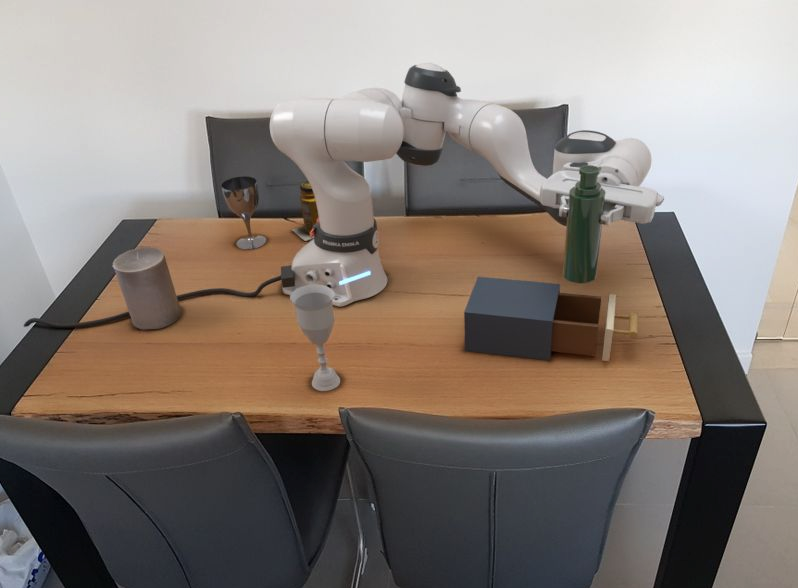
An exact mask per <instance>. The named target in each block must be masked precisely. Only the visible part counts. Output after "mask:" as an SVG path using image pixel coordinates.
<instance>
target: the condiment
mask: <svg viewBox="0 0 798 588" xmlns="http://www.w3.org/2000/svg"><path fill="white" fill-rule="evenodd" d="M299 189H300V196H299V202H300V208H301V213H302V220H303V226H300V227H295V228H292V229H291V230H292V232H294V233H295V235H297V236H298V237H299V238H301V239H302V240H303V241H304V242H307V241H309V240H310V241H311V240H313V239H314V236H313V237H312V238H310V235H311V234H310V232H311V231H312V229H313V228H312V227H313V226H314V225H315V224H316V223H317V219H318V218H319V216H318V210H317V205H316V201H315V196H314V193H313V190H312V188H311V185H310V183H309V181H308V180H306V181H304V182H303V181H302V183H301V184H300V186H299Z"/></svg>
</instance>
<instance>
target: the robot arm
mask: <svg viewBox="0 0 798 588" xmlns="http://www.w3.org/2000/svg"><path fill="white" fill-rule="evenodd" d="M403 83H404V88H403V92H402V96H401V99H400V98H399V96H398V95H397V94H396V93H394V92H393V91H391V90H389V89H387V88H382V87H367V88H363V89H360V90H356V91H353V92H349V93H347V94H345V95H344V96H343V97H342V98H328V97H305V96H303V97H297V98H291V99H287V100H282V101H280V102H278V103H277V104H276V106H275V107H274V109H273V110H272V113H271V115H270V119H269V133H270V134H269V135H270V137H271V141H272V142H273V144H274V145H275V147H276V148H277V149H278V151H279V152H281V153H283V154H284V155H285V156H286V157H288V158H289V159H290V160H291V161H292V162H293V163H294V164H296V166H297V167H298V168H299V170H300V171H301V172H302V174H303V175H304V177H305V178H306V181H309V183H310V185H311V188H312V190H313V193H314V196H315V201H316V205H317V210H318V216H319V218H318V219H317V223H316V224H315V225H314V226H313V227H312V228H313V229H312V231H311V232H310V234H311V235H310V238H312V237H313V236H314V238H312V239H310V241H308V242H307V243H306V244H305V245H304V246H302V247H301V248H300V249H299V250H298V251H297V252H296V254H295V255H294V257H293V259H292V263H291V265H283V266H280V275H278V276H275V277H272V278H270V279H268V280H265V281H263V282H262V283H261V284H260V285H259V286H258V287H257V288H256V290H255V291H252V292H242V291H238V290H234V289H230V288H224V287H217V288H216V287H215V288H206V289H199V290H196V291H191V292H186V293H182V294H179V295H176V296H177V299H178V301H180V300H183V299H187V298H191V297H196V296H197V297H198V296H201V295H207V294H216V293H222V294H230V295H234V296H237V297H244V298H253V297H257V296H258V295H259V294H260V293H261V292H262V290H263V289H264V288H266V287H267V286H269V285H272V284H274V283H277V282H280V281H281V286H282V293H283V294H284V295H287V296H290V295H291V294H292V292H293V291H295V290H296V289H298V288H300V287H303V286H307V285H323V286H327V287H329V288H331V289H332V290H333V292H334V297H333V300H332V305H333V307H345V306H347V305H350V304H352V303H354V302H357V301H361V300H365V299H369V298H371V297H373V296H376V295H378V294H379V293H381V292H382V291H383V290H384V289H385V288H386V287H387V284H388V281H389V280H388V276H387V274H386V271H385V269H384V267H383V264H382V260H381V256H380V251H379V243H380V241H379V240H380V239H379V238H380V237H379V230H378V224H377V220H376V218H375V216H374V205H373V195H372V188H371V185H370V183H369V182H368V180H366V178H365V177H364V176H363V175H362V174H359V172H356V171H355V170H353V169H352V168H351V167H349V165H348V164H347V163H346V162H360V163H369V162H378V161H385V160H390V159H392V158H394V156H395V155H397V156H398V158H399V159H400V160H401V161H403V162H404V163H407V164H409V165H411V166H415V167H426V166H427V167H428V166H433V165H434V164H436V163H438V161H439V160H440V158H441V156H442V152H443V150H444V149H443V145H444V141H445V138H446V133H448V135H449V136H450V138H451V139H453V140H454V141H455V142H456V143H458V144H459V145H461V146H462V147H464V148H466V149H467V150H468V151H471V152H473V153H476V154H478V155H480V156H481V157H483V158H484V159H485V160H486V161H487V162H488V163H489V164H490V165H491V166H492V167H493V168H494V170H495V171H496V172H497V174H498V176H499V178H500V179H501V181H503V182H504V183H505V184H506V185H507V186H509V188H512V189H513V190H515V191H516V192H518V193H519V194H520V195H522V196H523V197H525V198H527V199H528V200H529V201H531V202H532V203H534V204H535V205H537V206H538V207H540V208H541V209H543V210H544V211H545V213H547V214H548V215H549V216H550V217H551V218H552V219H553V220H554V221H555V222H556V223H558V224H560V225H561V226H564V227H566V228H567V215H568V203H569V191H570V189H571V188H573V187H575V184H576V183H577V182H579V181H580V174H579V168H580V167H582V166H585V165H593V166H597V167H599V168H600V174H599V175H598V178H597V182H598V183H600V184H601V188H602V189H604V190H605V192H606V194H605V203H604V212H603V214H601V217H600V219H601V221H600V224H602V226H603V225H604V226H610V224H611V223H614V222H619V221H624V222H625V221H626V222H630V223H636V224H640V225H647V224H649V223H651V222H652V221H653V218H654V216H655V213H656V209H657V207H660V206H661V205H662V204H663V203H664V201H665V197H664V195H661V194H659V192H657V191H656V190H655V189H652V188H651V187H650V188H649V187H643V186H641V185H642V183H644V181H645V180H646V177H647V176H648V174H649V172H650V169H651V166H652V154H651V150H650V149H649V147H648V145H647V144H646V143H645V142H644V141H643V140H641V139H638V138H634V137H627V138H622V139H618V140H614V139H613V138H612V137H611V136H609V135H607V134H605V133H603V132H600V131H596V130H588V129H587V130H583V129H582V130H576V131H573V132H571V133H568V134H567V135H566V136H564V137H562V138H561V139H559V140H558V141H557V143H556V144H555V145H554V151H553V161H552V162H553V163H552V174H551V175H550V176H549V177H547V178H546V177H545V176H544V175H542V174H541V173H540V172H538V171H537V169H536V168H535V165H534V164H533V161H532V157H531V153H530V148H529V143H528V136H527V131H526V127H525V125H524V123H523V119H522V118H520V116H519V115H518V114H517V113H516V112H514V111H513V110H512V109H510V108H508V107H505V106H503V105H500V104H497V103H493V102H489V101H485V100H480V99H467V98H460V97H459V96H458V93H461V92H462V88H461V87H460V86H458V85H457V83H456V81H455V78H454V77H453V75H452V74H451V73H450V72H449V71H448V70H447V69H445V68H444V67H443V66H440V65H438V64H436V63H432V62H423V63H419V64H414V65H412V66H410V67H409V68H408V70H407V73H406V75H405V79H404V81H403ZM127 317H131V316H130V314H129V311H125V312H122V313H119V314H115V315H112V316H108V317H105V318H100V319H95V320H94V319H93V320H89V321H82V322H70V323H69V322H67V323H63V322H62V323H60V322H54V321H50V320H46V319H43V318H39V317H32V318H29V319H28V320H26V321H25V322H24V323H23V327H24V328H28V327H29V326H30V325H32V324H35V323H38V324H41V325H42V324H43V325H45V326H49V327H52V328H57V329H72V328H73V329H74V328H83V327H84V328H85V327H92V326H97V325H100V324H101V325H103V324H106V323H107V324H108V323H110V322H111V323H112V322H114V321H118V320H121V319H125V318H127Z"/></svg>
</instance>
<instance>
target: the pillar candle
mask: <svg viewBox="0 0 798 588" xmlns="http://www.w3.org/2000/svg"><path fill="white" fill-rule="evenodd" d="M112 268H113V269H114V272H115V275H116V278H117V282H118V283H119V287H120V290H121V293H122V297H123V298H124V301H125V304H126V308H127V310H128V311H129V314H130V316H129V317H130V319H131V322H132V324H133V326H134V327H135V328H137V329H139V330H142V331H143V330H160V329H163V328H164V329H165V328H166V327H168V326H170V325H172V324H173V323H175V322H176V321H177V320H178V319H179V318H180V316H181V314H182V309H181V307H180V302H179V300H178V299H177V296H178V295H177V293H176V290H175V289H176V288H175V286H174V283H173V280H172V276H171V273H170V270H169V265H168V263H167V260H166V257H165V253H164V251H162V250H161V249H159V248H156V247H151V246H150V247H147V246H145V247H137V248H133V249H129V250H127V251H125V252H122V253H121V254H118V256H116V258H115V259H114V260H113V262H112ZM128 311H127V312H128Z"/></svg>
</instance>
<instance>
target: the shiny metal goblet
mask: <svg viewBox="0 0 798 588" xmlns="http://www.w3.org/2000/svg"><path fill="white" fill-rule="evenodd" d="M221 190H222V195H223V198H224V201H225V203H226V204H227V207H228V208H229V210H230V211H231V212H232V213H234V214H235V215H237V216H238V217H240V218H241V220H242V221H243V223H244V225H245V228H246V231H247V235H246V236H243V237H241V238H240V239H238V240H237V241H236V247H237V248H239V249H242V250H253V249H254V250H255V249H257V248H260V247H262V246H264V245H265V244H266V243H267V238H266V237H265V236H263V235H259V234H252V230H251V218H252V216H253V214H254V213H255V211H256V209H257V208H258V206H259V199H260V195H259V193H260V192H259V186H258V181H257V179H256V178H255V177H252V176H244V175H243V176H235V177H232V178H228V179H227V180H224V181H223V182H222V183H221Z"/></svg>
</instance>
